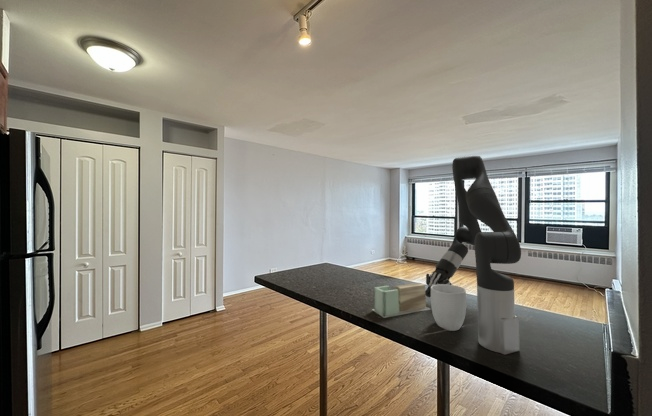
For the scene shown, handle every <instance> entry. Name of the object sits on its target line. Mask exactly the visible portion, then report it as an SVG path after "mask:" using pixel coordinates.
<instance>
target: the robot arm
mask: <svg viewBox="0 0 652 416" xmlns="http://www.w3.org/2000/svg"><path fill="white" fill-rule="evenodd" d="M451 165H452V170H451V171H452V175H453V176H452V177H453V183H454V189H455V195H456V198H457V199H456V200H457V205H458V207H457V208H458V221H459V223H460V224H461V225H462V226H460V227H458V228H457V229H456V230H455V234H454V238H453V240H452V243H451V245H450V246H449V248H448V249H447V250H446V252H445V253H443V255H442V256H441V258H440V260H439V261H438V262H437V264H436V265H435V270H434V271H432V273H431V274H429V273H426V275H425V285H427V286H428V287H427V288H426V289H425V297H426V298H429V299H431V286H433V285H438V284H447V285H453V284H452V282H451V281H450V279H451V278H453V276H454V275H455V273H456V272H457V270H458V269H459V267H461V264H462V262H463V260H464V259H465V258H466V257H467V254H468V253H469V249H468V247H467V246H466V245H465V244H468V245H471V246H474V255H475V269H476V271H475V272H476V301H477V302H476V303H477V304H476V305H477V334H478V335H477V336H478V344H479V345H480V346H481V347H483V348H485V349H487V350H489V351H492V352H495V353H500V354H502V355H509V354H512V353H516V352H519V351H520V326H519V325H520V322H519V319H520V318H519V316H517V315H516V311H515V310H516V308H515V282H514V279H513V278H512V277H511V276H509V275H506V274H503V273H500V272H497V271H495V270H494V269H492V265H491V264H499V265H500V264H502V265H503V264H504V265H510V264H516V263H519V261H520V260H521V256H522V249H521V244H520V242H519V239H518V236H517V234H516V233H515V231H514V230H513V228H512V226H511V225H510V223H509V221H508V219H507V218H506V216H505V214H504V212H503V209H502V207H501V205H500V201H499V199H498V197H497V195H496V192H495V190H494V187H493V186H492V184H491V182H490V179H489V177H488V173H487V169H486V167H485V163H484V160H483V158H482V157H481V155H477V154H472V155H466V156H458V157H455V158H454V159H453V161H452V164H451ZM468 179H469V180H470V179H475V180H474V181H473V182H472V183H471V185H470V186H469V187H468V189H467V190H466V188H465V186H464V182H463V180H468ZM479 221H480V222H481V223H483V224H484V225H485V226H487V227H488V228H489V229H490V230H491V231H482V229H481V227H480V223H479ZM463 243H464V244H463Z"/></svg>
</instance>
